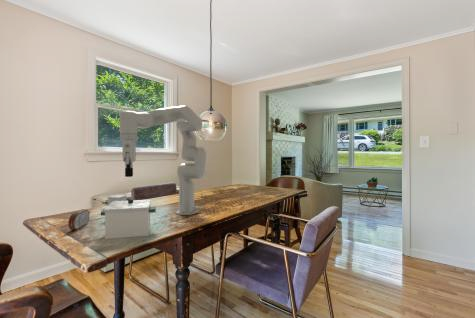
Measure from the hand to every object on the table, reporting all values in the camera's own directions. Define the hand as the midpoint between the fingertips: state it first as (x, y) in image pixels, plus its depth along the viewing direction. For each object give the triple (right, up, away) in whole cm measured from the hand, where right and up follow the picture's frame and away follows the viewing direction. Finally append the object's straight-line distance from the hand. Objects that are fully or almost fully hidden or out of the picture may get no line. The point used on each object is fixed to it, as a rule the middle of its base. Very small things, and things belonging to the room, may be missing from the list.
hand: (129, 176), depth 116 cm
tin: (-29, -27, +9) cm, 41 cm away
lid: (-1, -15, +4) cm, 15 cm away
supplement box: (-19, -26, +28) cm, 43 cm away
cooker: (-1, -27, +4) cm, 27 cm away
